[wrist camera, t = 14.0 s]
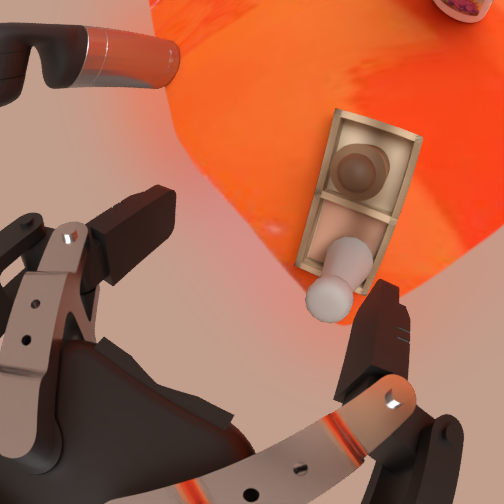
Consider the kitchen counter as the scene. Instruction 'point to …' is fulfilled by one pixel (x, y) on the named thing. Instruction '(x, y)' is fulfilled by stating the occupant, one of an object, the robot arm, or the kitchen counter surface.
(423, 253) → the kitchen counter surface
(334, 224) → the spice rack
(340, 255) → the salt shaker
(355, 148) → the pepper mill
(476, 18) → the milk bottle
